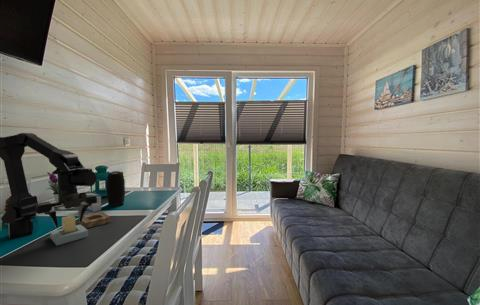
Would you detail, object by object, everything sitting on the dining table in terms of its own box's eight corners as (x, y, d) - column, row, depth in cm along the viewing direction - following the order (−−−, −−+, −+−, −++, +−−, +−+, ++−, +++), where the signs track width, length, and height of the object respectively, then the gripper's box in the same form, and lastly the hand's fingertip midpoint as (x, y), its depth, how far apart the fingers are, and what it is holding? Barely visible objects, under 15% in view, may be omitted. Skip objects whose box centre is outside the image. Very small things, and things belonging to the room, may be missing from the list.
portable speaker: (128, 204, 133) (127, 171, 132) (111, 208, 125) (110, 173, 124) (120, 202, 138) (119, 170, 137) (104, 205, 130) (103, 172, 129)
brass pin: (65, 240, 86) (64, 219, 85) (62, 237, 88) (61, 217, 87) (76, 237, 88) (75, 217, 88) (73, 234, 91) (72, 215, 90)
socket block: (56, 245, 81) (56, 238, 81) (50, 237, 88) (49, 231, 87) (88, 236, 89) (88, 230, 89) (80, 229, 95) (80, 224, 95)
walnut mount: (86, 228, 97) (85, 222, 97) (78, 223, 103) (78, 217, 103) (110, 222, 104) (110, 216, 104) (102, 217, 111) (102, 212, 111)
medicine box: (84, 210, 122) (84, 194, 122) (93, 207, 126) (92, 192, 126) (93, 212, 119) (92, 196, 118) (101, 209, 123) (101, 194, 122)
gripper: (39, 193, 75) (41, 238, 76) (101, 184, 89) (102, 222, 90) (33, 188, 82) (35, 230, 83) (92, 181, 96) (93, 216, 97)
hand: (68, 224), depth 88 cm, fingers open, 7 cm apart
